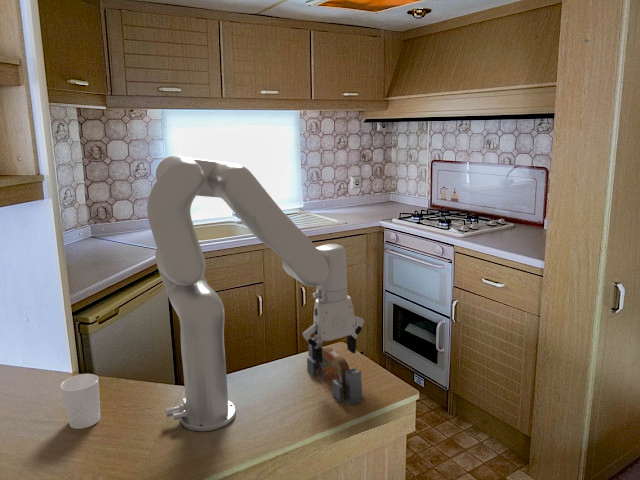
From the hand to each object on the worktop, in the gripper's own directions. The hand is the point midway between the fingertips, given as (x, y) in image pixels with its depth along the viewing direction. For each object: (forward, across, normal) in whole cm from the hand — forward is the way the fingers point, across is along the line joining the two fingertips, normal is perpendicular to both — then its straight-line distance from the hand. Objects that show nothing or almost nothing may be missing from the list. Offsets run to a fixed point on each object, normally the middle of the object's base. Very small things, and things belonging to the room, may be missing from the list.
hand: (335, 355), depth 133 cm
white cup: (+6, -60, +12) cm, 61 cm away
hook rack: (+7, -1, 0) cm, 7 cm away
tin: (+8, -1, 0) cm, 8 cm away
